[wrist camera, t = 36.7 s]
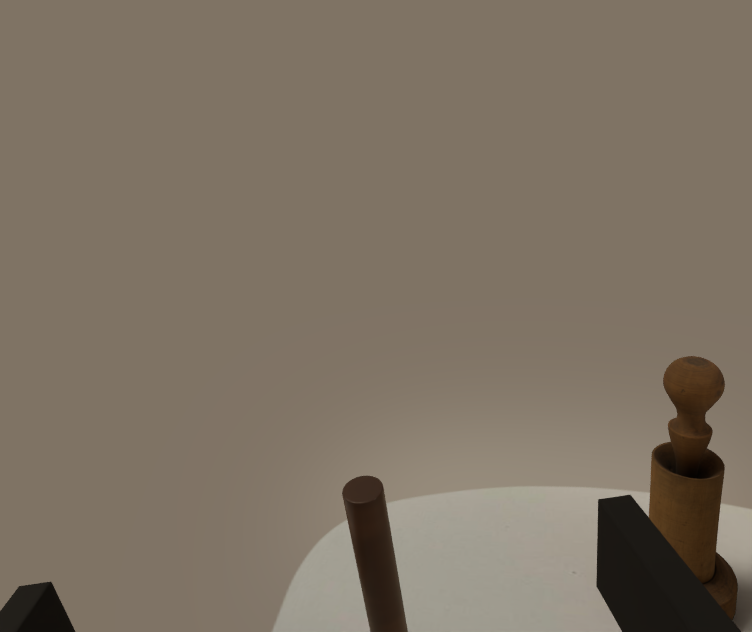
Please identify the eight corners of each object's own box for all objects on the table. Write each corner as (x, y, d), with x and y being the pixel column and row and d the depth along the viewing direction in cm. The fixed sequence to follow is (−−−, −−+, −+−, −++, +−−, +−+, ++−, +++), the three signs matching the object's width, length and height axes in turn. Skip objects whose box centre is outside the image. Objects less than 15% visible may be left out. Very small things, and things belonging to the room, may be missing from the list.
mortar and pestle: (705, 554, 36) (727, 334, 30) (757, 636, 30) (797, 383, 24) (611, 554, 38) (616, 343, 32) (643, 634, 31) (656, 392, 26)
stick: (364, 767, 27) (306, 527, 21) (370, 680, 31) (324, 462, 26) (447, 766, 26) (409, 520, 21) (442, 678, 31) (409, 455, 25)
